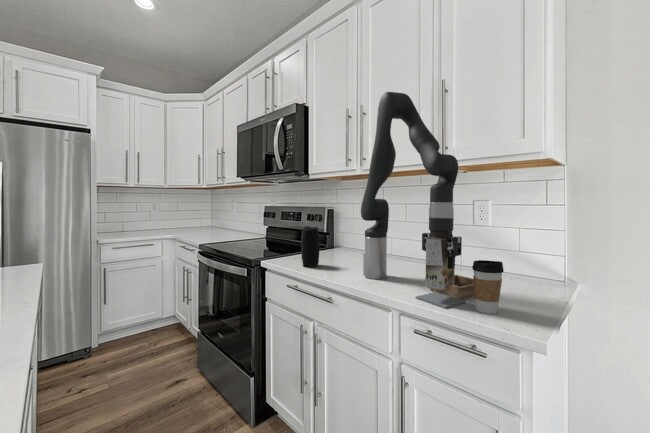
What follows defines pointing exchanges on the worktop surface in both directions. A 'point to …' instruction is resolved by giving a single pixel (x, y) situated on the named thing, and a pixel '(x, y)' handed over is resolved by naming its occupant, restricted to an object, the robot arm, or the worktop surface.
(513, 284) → the worktop surface
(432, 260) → the coffee box
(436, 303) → the slate mat
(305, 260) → the portable speaker
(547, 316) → the worktop surface
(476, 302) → the coffee cup
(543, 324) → the worktop surface
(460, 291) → the walnut caddy
